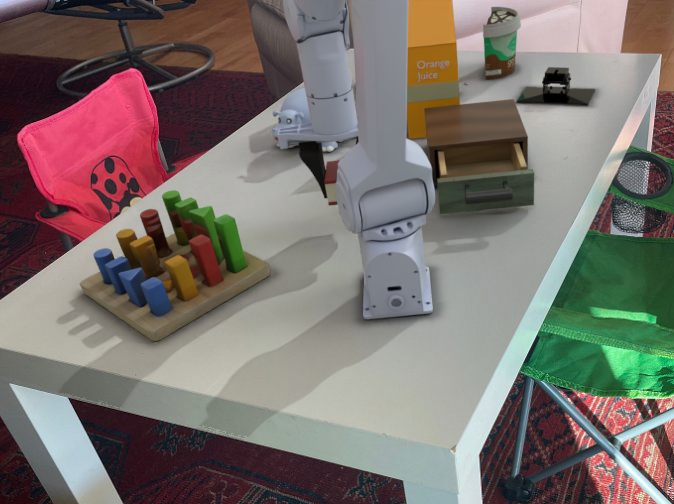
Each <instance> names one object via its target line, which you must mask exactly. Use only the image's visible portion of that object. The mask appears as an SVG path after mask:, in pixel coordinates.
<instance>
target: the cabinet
mask: <svg viewBox="0 0 674 504" xmlns="http://www.w3.org/2000/svg"><path fill="white" fill-rule="evenodd" d="M424 111H425V123H426V134H427V137H426V144H427V154H428V160H429V162H430V164H431V167H432V180H433V184H434V189H436V188H437V189H438V185H437V179H439V178H440V176H439V169H438V156H437V150H442V149H452V148H462V147H472V146H481V145H491V144H501V143H511V142H519V145H520V148H521V151H522V154H523V157H524V160H525V162H526V165H527V170H528V167H529V166H528V164H529V163H528V161H529V160H528V159H529V154H528V153H529V136H528V133H527V131H526V128H525V125H524V123H523V120H522V118H521V114H520V111H519V109H518V107H517V104H516V102H515V99H514V98H509V99H499V100H490V101H481V102H472V103H463V104H462V103H460V105H451V106H442V107H432V108H424Z"/></svg>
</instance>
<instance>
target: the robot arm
mask: <svg viewBox="0 0 674 504" xmlns="http://www.w3.org/2000/svg"><path fill="white" fill-rule="evenodd" d="M408 1H409V0H351V4H352V23H353V34H352V42H353V59H354V60H353V61H354V80H355V82H354V83H355V95H354V87H353V81H352V74H351V67H350V59H349V52H348V49H350V48H351V46H350V45H351V42H350V41H351V40H350V35H349V34H350V31H349V30H350V11H349V5H348V0H282V6H283V7H282V8H283V12H284V17H285V21H286V24H287V28H288V29H289V32H290V35H291V37H292V39H293V40H294V41H295V43H296V48H297V53H298V59H299V65H300V69H301V75H302V81H303V85H304V87H305V91H306V97H307V102H308V107H309V113H310V118H311V122H309V123H305V124H301V125H296V126H292V127H287V128H280V129H278V133H277V137H278V141H279V146H280V147H279V149H280V150H287V149H289V146H294V147H296V146H298V151H299V152H298V154H299V158H300V161H302V163H303V164H304V165H305V166H306V167H307V169H308V170H309V171H310V173H311V174H312V175H313V177H314V178H315V180H316V182H317V184H318V186H319V188H320V190H321V192H322V196H323V199H328V198H327V193H326V188H325V183H324V180H325V172H326V165H325V164H326V163H325V158H324V152H323V150H322V143H325V142H334V141H337V142H338V141H342V142H344V141H352V140H355V141H356V142H355V145H354V146H353V147H352V148H351V149H350V150H349V151H348V152H347V153H346V154H345V155H344V156H343V157H342V158H341V159H339V160H340V161H339V162H338V170H337V182H336V184H335V194H336V200H337V204H338V205H337V207H338V212H339V214H340V217H341V220H342V223H343V225H344V226H345V228H346V229H347V230H348V231H350V232H351V233H352V234H353V235H357V238H358V244H359V249H360V255H361V261H362V262H361V263H362V268H363V269H362V270H363V274H364V275H363V300H362V303H363V304H362V318H363V319H364V320H376V319H384V318H396V317H405V316H415V315H417V316H418V315H424V314H425V315H426V314H431V313H433V311H434V308H433V296H432V285H431V275H430V268H429V266H427V265H426V259H425V248H424V239H423V229H422V226H424V225H426V224H427V218H426V217H427V216H426V215H429V214H432V212H433V209H434V207H435V204H436V190H435V188H434V184H433V180H432V167H431V164H430V162H429V157H428V156H427V154H426V153H425V152H424V149H423V148H422V147H421V146H420V145H419V144H418V143H417V142H415V141H413V140H411V139H409V138H407V55H408ZM355 100H356V101H355Z"/></svg>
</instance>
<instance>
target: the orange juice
mask: <svg viewBox="0 0 674 504" xmlns="http://www.w3.org/2000/svg"><path fill="white" fill-rule="evenodd" d="M456 37H457V36H456V26H455V15H454V2H453V0H409V1H408V55H407V124H406V126H407V133H408V134H407V135H408V139H409V140H411V139H413V140H414V139H422V138H427V134H426V123H425V111H424V108H432V107H442V106H451V105H461V103H460V102H461V101H460V97H461V96H460V80H459V64H458V45H457V38H456Z"/></svg>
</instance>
